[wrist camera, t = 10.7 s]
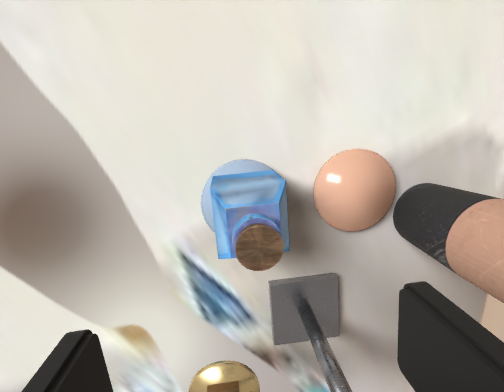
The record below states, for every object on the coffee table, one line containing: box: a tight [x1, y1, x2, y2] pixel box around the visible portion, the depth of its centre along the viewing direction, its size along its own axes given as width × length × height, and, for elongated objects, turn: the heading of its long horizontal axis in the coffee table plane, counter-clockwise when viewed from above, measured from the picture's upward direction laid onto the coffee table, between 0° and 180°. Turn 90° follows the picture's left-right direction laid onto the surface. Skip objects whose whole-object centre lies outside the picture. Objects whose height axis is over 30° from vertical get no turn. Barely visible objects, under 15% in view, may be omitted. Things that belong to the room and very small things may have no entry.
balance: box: [189, 273, 352, 392], centre depth 27 cm, size 8×25×18 cm, turn 95°
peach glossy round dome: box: [313, 149, 396, 231], centre depth 32 cm, size 9×9×1 cm
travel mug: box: [393, 183, 504, 303], centre depth 24 cm, size 8×8×20 cm
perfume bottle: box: [210, 170, 290, 271], centre depth 25 cm, size 6×6×12 cm
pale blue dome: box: [201, 159, 287, 232], centre depth 31 cm, size 9×9×1 cm
